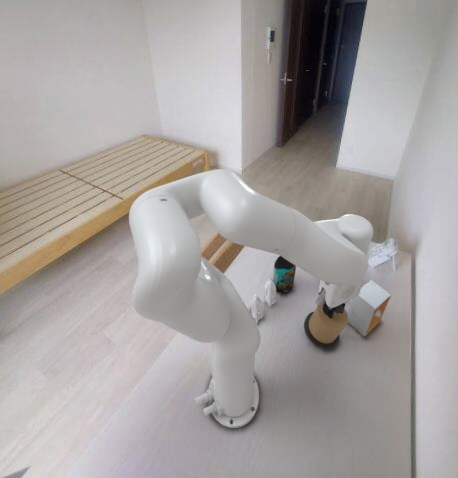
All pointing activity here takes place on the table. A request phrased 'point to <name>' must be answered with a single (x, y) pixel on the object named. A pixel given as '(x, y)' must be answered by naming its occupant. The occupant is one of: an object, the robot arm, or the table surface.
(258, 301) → the shaker set
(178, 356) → the table surface
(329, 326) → the towel holder
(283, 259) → the beverage can
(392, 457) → the table surface
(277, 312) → the table surface
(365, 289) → the small box
